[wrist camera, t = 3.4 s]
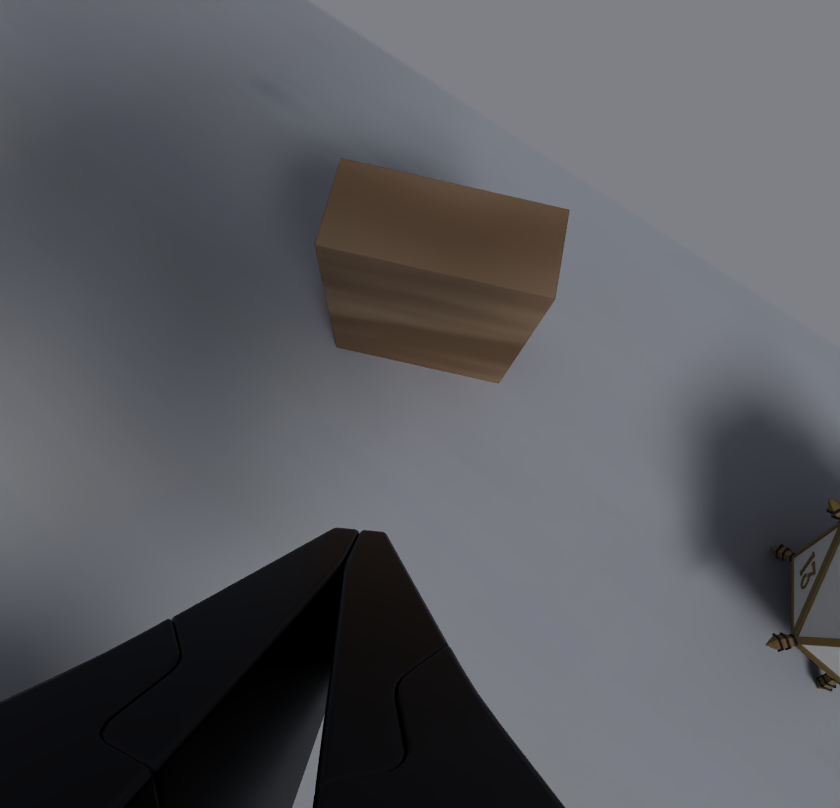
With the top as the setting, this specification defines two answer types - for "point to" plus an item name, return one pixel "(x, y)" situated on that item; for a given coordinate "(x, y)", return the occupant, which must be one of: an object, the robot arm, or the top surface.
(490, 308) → the walnut block
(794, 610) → the game die
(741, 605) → the top surface
